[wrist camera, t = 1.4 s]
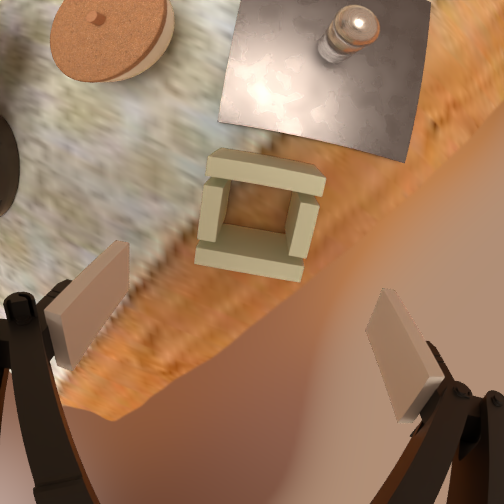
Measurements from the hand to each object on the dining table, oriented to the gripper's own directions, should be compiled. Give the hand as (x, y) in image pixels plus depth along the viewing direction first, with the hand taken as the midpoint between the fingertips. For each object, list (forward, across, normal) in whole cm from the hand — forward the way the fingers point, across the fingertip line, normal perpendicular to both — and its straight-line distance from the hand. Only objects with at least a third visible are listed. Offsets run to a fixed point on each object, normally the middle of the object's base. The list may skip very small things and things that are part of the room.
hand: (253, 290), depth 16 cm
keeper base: (+17, +4, +16) cm, 24 cm away
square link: (+17, 0, 0) cm, 17 cm away
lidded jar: (+17, -15, +15) cm, 28 cm away
